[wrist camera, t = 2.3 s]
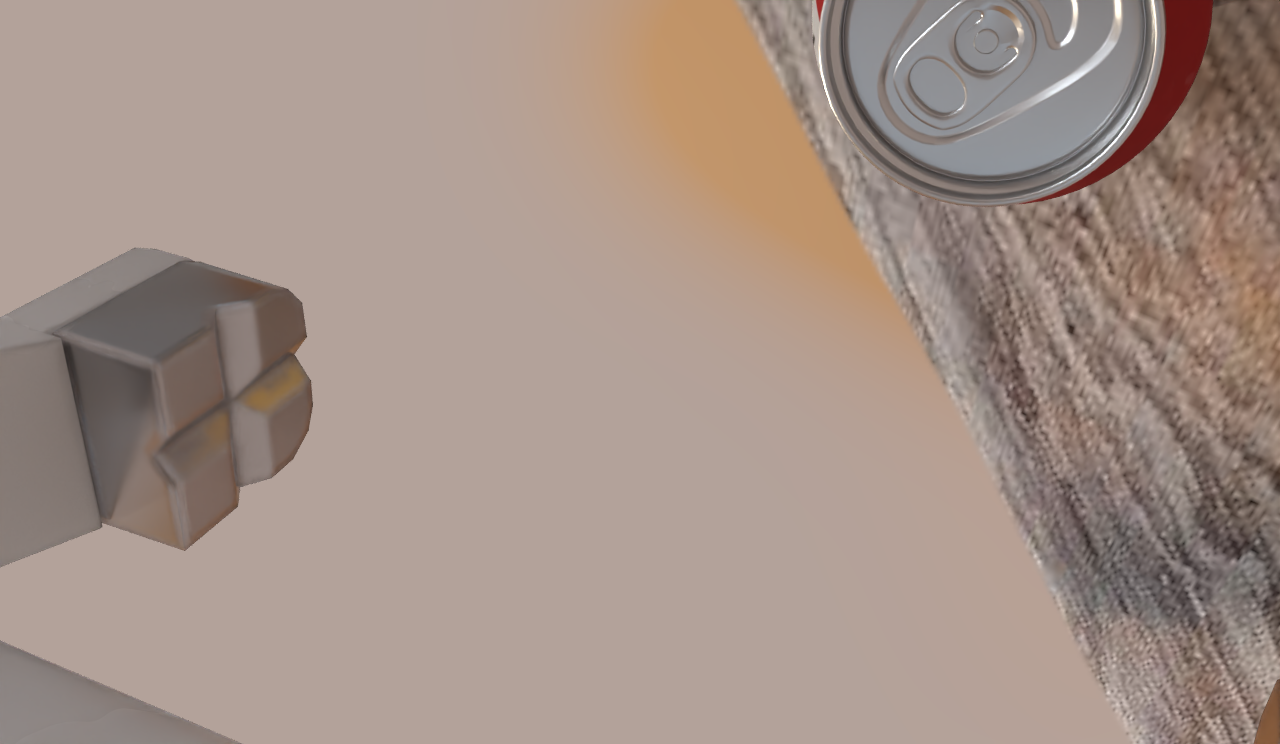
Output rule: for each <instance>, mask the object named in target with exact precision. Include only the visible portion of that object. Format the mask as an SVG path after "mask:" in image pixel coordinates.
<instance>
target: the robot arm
mask: <svg viewBox="0 0 1280 744" xmlns="http://www.w3.org/2000/svg"><path fill="white" fill-rule="evenodd" d="M306 337H307V335H306V328H305V320H304V313H303V306H302V302H301V301H300V300H299V299H298V298H296V297H295V296H294V294H293V293H291V292H290V291H289V290H288V289H286V288H283V287H279V286H276V285H273V284H270V283H267V282H263V281H260V280H257V279H254V278H250V277H247V276H244V275H241V274H238V273H234V272H231V271H227V270H225V269H221V268H218V267H215V266H212V265H208V264H205V263H202V262H195V261H193V260H191V259H189V258H186V257H182V256H178V255H175V254H171V253H167V252H164V251H160V250H157V249H147V248H134V249H131V250H130V251H128V252H126V253H124V254H122V255H120V256H118V257H116V258H114V259H112V260H110V261H108V262H106V263H104V264H102V265H101V266H99V267H97V268H95V269H93V270H91V271H89V272H87V273H85V274H83V275H81V276H79V277H77V278H75V279H73V280H72V281H70V282H68V283H66V284H64V285H62V286H60V287H58V288H56V289H54V290H52V291H50V292H48V293H46V294H44V295H43V296H41V297H39V298H37V299H35V300H33V301H31V302H29V303H27V304H25V305H23V306H21V307H19V308H17V309H16V310H14V311H12V312H10V313H8V314H6V315H4V316H2V317H0V567H2V566H5V565H7V564H10V563H12V562H15V561H17V560H20V559H22V558H25V557H28V556H30V555H33V554H36V553H38V552H41V551H43V550H46V549H48V548H51V547H54V546H56V545H59V544H61V543H64V542H67V541H69V540H71V539H74V538H77V537H79V536H82V535H84V534H87V533H90V532H92V531H95V530H97V529H100V528H101V527H102V523H104V524H107V525H110V526H113V527H116V528H119V529H122V530H125V531H128V532H131V533H134V534H137V535H140V536H143V537H146V538H148V539H152V540H155V541H158V542H160V543H163V544H166V545H169V546H172V547H175V548H178V549H181V550H184V551H185V550H186V549H188V548H189V547H190V546H191V545H192V544H194V543H195V542H196V541H197V540H198V539H200V538H201V537H202V536H203V535H204V534H206V533H207V532H208V531H209V530H210V529H211V528H213V527H214V526H215V525H216V524H218V523H219V522H220V521H221V520H222V519H224V518H225V517H226V516H227V515H228V514H229V513H231V512H232V511H233V510H234V509H236V508H237V507H238V501H239V492H240V487H243V486H245V485H249V484H253V483H256V482H260V481H263V480H267V479H270V478H272V477H273V476H274V475H276V474H277V473H278V472H279V471H280V470H281V469H282V468H284V467H285V466H286V465H287V464H288V463H289V462H290V461H291V460H293V458H294V456H295V454H296V453H297V451H298V449H299V447H300V445H301V443H302V442H303V440H304V438H305V436H306V434H307V432H308V430H309V424H310V418H311V413H312V407H313V402H312V390H311V380H310V379H309V377H308V376H307V374H306V372H305V371H304V369H303V367H302V366H301V364H300V363H299V361H298V360H297V358H296V356H295V355H294V354H295V352H296V351H297V350H298V348H299V347H300V346H301V344H302V343H303V341H304V340H305V338H306ZM0 744H242V743H239V742H237V741H235V740H232V739H230V738H228V737H225V736H223V735H221V734H218V733H216V732H214V731H211V730H209V729H206V728H204V727H202V726H199V725H197V724H195V723H193V722H190V721H188V720H185V719H183V718H180V717H179V716H176V715H174V714H171V713H169V712H167V711H164V710H162V709H160V708H157V707H155V706H153V705H150V704H148V703H146V702H143V701H141V700H139V699H136V698H134V697H132V696H129V695H127V694H124V693H122V692H120V691H117V690H115V689H113V688H111V687H108V686H105V685H103V684H101V683H99V682H96V681H94V680H92V679H89V678H87V677H85V676H82V675H80V674H78V673H75V672H73V671H71V670H68V669H66V668H63V667H61V666H59V665H57V664H54V663H52V662H50V661H47V660H45V659H42V658H40V657H38V656H35V655H33V654H31V653H28V652H26V651H24V650H21V649H19V648H17V647H14V646H12V645H10V644H7V643H5V642H2V641H0ZM1254 744H1280V679H1278V680H1277V682H1276V684H1275V686H1274V688H1273V691H1272V693H1271V695H1270V698H1269V700H1268V702H1267V704H1266V707H1265V709H1264V711H1263V714H1262V716H1261V719H1260V723H1259V726H1258V730H1257V734H1256V737H1255V741H1254Z"/></svg>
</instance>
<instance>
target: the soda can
mask: <svg viewBox="0 0 1280 744" xmlns="http://www.w3.org/2000/svg"><path fill="white" fill-rule="evenodd" d="M1212 8H1213V0H813V2H812V33H813V43H814V50H815V56H816V60H817V64H818V68H819V72H820V75H821V78H822V81H823V84H824V88H825V91H826V94H827V97H828V100H829V103H830V106H831V108H832V110H833V112H834V114H835V116H836V118H837V120H838V122H839V124H840V125H841V127H842V129H843V130H844V132H845V134H846V135H847V136H848V138H849V139H850V141H851V142H852V143H853V145H854V146H855V147H856V148H857V149H858V150H859V152H860V153H861V154H862V155H863V156H864V157H865V158H866V159H867V160H868V161H869V162H870V163H871V164H872V165H873V166H875V167H876V168H877V169H878V170H880V171H881V172H882V173H883V174H885V175H886V176H887V177H889V178H891V179H892V180H894V181H895V182H897V183H898V184H900V185H902V186H904V187H906V188H908V189H910V190H912V191H914V192H916V193H918V194H921V195H923V196H926V197H929V198H932V199H935V200H938V201H942V202H946V203H951V204H956V205H963V206H972V207H996V206H1008V205H1014V204H1026V203H1032V202H1038V201H1044V200H1048V199H1052V198H1056V197H1060V196H1063V195H1066V194H1069V193H1071V192H1074V191H1077V190H1080V189H1082V188H1084V187H1086V186H1088V185H1091V184H1093V183H1095V182H1097V181H1099V180H1101V179H1102V178H1104V177H1106V176H1108V175H1109V174H1111V173H1113V172H1114V171H1116V170H1117V169H1119V168H1120V167H1122V166H1123V165H1124V164H1126V163H1127V162H1129V161H1130V160H1131V159H1133V158H1134V157H1135V156H1136V155H1137V154H1138V153H1140V152H1141V151H1142V150H1143V149H1144V148H1146V146H1147V145H1148V144H1149V143H1150V142H1151V141H1152V140H1153V139H1154V138H1155V137H1156V136H1157V135H1158V134H1159V133H1160V132H1161V131H1162V130H1163V128H1164V127H1165V126H1166V125H1167V123H1168V122H1169V121H1170V120H1171V119H1172V117H1173V116H1174V114H1175V113H1176V111H1177V110H1178V108H1179V107H1180V105H1181V104H1182V102H1183V101H1184V99H1185V97H1186V95H1187V93H1188V91H1189V90H1190V88H1191V86H1192V84H1193V82H1194V79H1195V77H1196V75H1197V72H1198V70H1199V67H1200V65H1201V62H1202V59H1203V56H1204V52H1205V49H1206V46H1207V42H1208V37H1209V32H1210V27H1211V19H1212Z"/></svg>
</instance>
